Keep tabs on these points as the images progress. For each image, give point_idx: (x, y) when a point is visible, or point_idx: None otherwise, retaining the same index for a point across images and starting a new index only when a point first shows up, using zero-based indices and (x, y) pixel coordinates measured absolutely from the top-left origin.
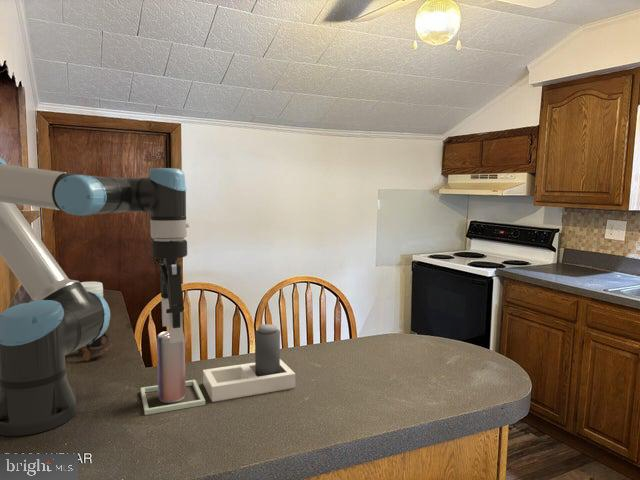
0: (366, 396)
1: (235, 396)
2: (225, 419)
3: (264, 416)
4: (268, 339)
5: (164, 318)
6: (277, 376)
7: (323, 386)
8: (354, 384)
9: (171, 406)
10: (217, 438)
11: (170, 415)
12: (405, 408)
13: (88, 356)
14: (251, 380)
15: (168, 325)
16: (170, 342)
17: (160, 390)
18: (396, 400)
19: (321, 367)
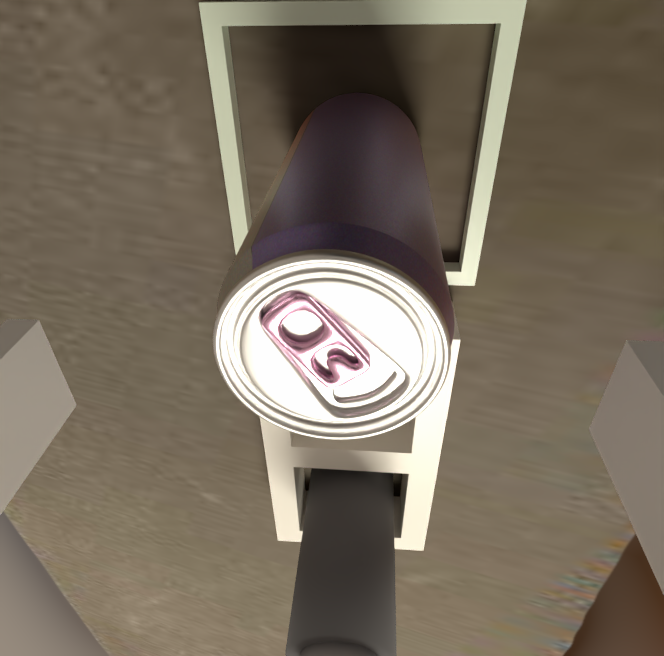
0: (187, 573)
1: None
2: (113, 301)
3: (118, 393)
4: (289, 627)
5: (656, 422)
6: (273, 505)
7: (270, 542)
8: (259, 582)
9: (220, 142)
10: None
11: (179, 125)
12: (117, 590)
13: None
14: (266, 446)
15: (609, 389)
16: (8, 326)
17: (319, 113)
18: (156, 595)
19: (396, 578)
